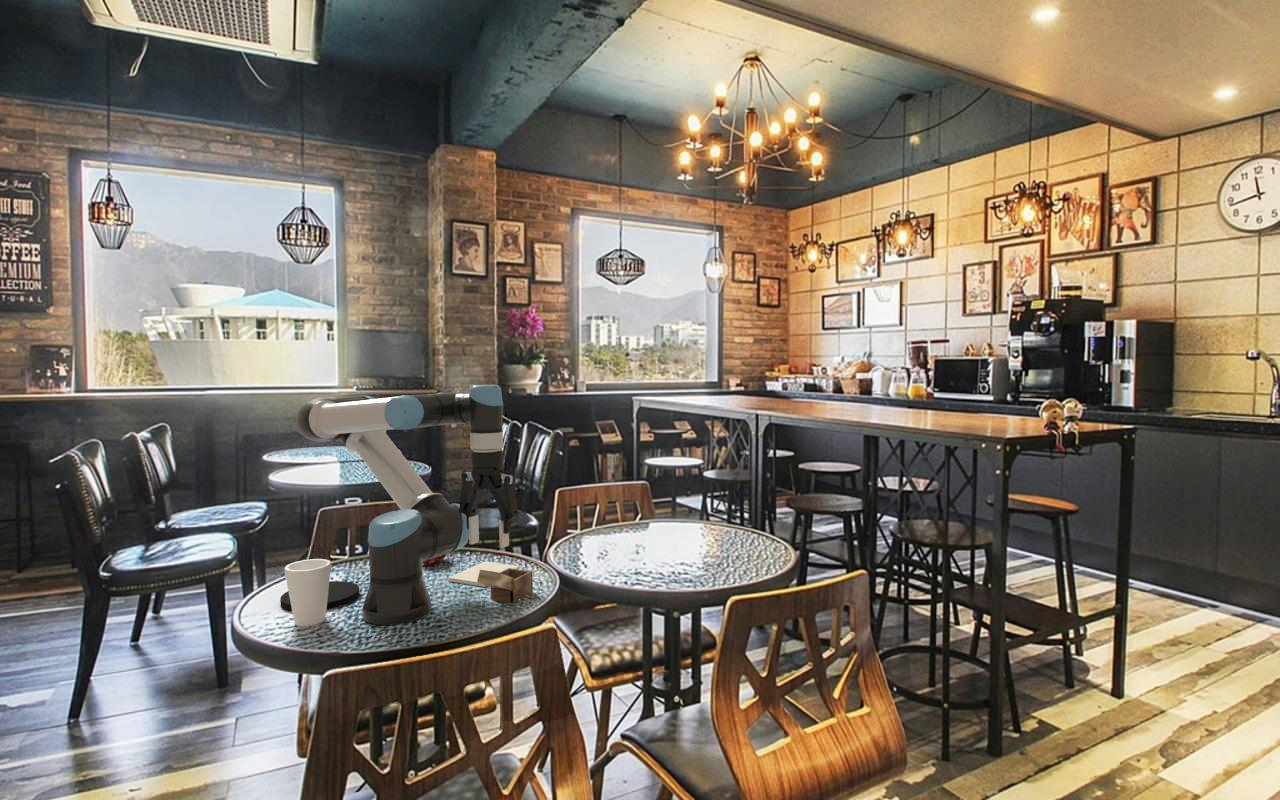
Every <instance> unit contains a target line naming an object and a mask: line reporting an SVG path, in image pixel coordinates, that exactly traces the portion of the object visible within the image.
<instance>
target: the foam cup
mask: <svg viewBox="0 0 1280 800" xmlns="http://www.w3.org/2000/svg"><path fill="white" fill-rule="evenodd" d="M331 573H332V562H331V560H329V559H324V558H312V559H302V560H299V561H294V562H292V563H289V564H287V565H286V566H285V567H284V579H285V580H286V585H287V592H289V597H290V602H291V607H292V612H291V613H292V616H293V617H292V618H293V621H294V625H295V626H298V627H309V626H315V625H318V624H320V623H323V622H325V620H326V616H327V610H326V609H327V599H328V590H329V581H330V580H331V579H330V577H331Z"/></svg>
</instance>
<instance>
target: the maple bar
mask: <svg viewBox="0 0 1280 800" xmlns="http://www.w3.org/2000/svg"><path fill="white" fill-rule="evenodd" d="M514 579H515V578H512V577H510V576H507V575H504V574H501V573H498V572H493V571H486V570H480V572H479V576H478V580H477V583H480V584H484V585H487V586H488V587H489V588H491V587H493V588H499V589H505V590H510V594H513V580H514ZM487 586H486V587H487Z"/></svg>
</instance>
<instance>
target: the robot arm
mask: <svg viewBox="0 0 1280 800" xmlns="http://www.w3.org/2000/svg"><path fill="white" fill-rule="evenodd" d="M468 390H469V391H468V392H454V391H447V392H446V391H443V392H438V393H437V392H436V393H429V394H410V395H409V394H402V395H398V396H391V397H381V398H375V397H373V396H370V395H361V394H356V395H355V394H354V395H351V396H350V395H349V396H334V397H332V396H331V397H318V398H314V399H310V400H308V401H306V402H304V404H302V405H301V407H300V408H299V409H298V411H297V414H296V417H295V425H296V427H297V430H298V432H299V433H300V434H301V436H302V437H304V438H305V439H307V440H310V441H312V442H315V443H316V442H318V443H326V442H339V441H340V442H341V443H342V444H343V445H344V446H345V448H346V449H347V450H348V451H349V452H351V453H358V455H359V456H360V457H361V459H362V460H363V461H364V463H365V464H366V466H367V467H368V468H369V469H370V471H371V472H372V473H373V475H374V476H375V477H376V479H377V480H378V481H379V483H380V484H381V485H382V487H383V488H384V489H385V491H386V493H388V495H389V496H390V497H391V499H392V500H393V502H395V504H396V505H397V507H398V508H399V509H398V510H392V511H389V512H384V513H382V514H380V515H378V516H376V517H375V518H373V519H372V520H371V521H370V523H369V526H368V536H367V543H368V552H369V553H368V555H369V556H368V557H369V559H368V561H369V562H368V563H369V586H368V590H367V593H366V595H365V600H364V602H363V606H362V618H363V621H365V622H366V623H368V624H373V625H381V626H386V625H387V626H389V625H400V624H404V623H409V622H410V623H411V622H413V621H417V620H419V619H422V618H424V617H426V616H427V615H428V614H430V612H431V611H432V599H431V596H430V594H429V591H428V588H427V586H426V583H425V580H424V575H423V561H426V560H429V559H432V558H435V557H438V556H441V555H444V554H447V555H448V554H452V553H454V552H455V551H458V550H461V549H462V548H463V547H465V546H466V544H467V543H468V541H469V545H474V544H476V543H479V542H480V533H479V531H480V530H479V528H480V527H479V523H480V522H479V515H478V512H477V511H478V507H479V504H480V502H481V498H482V495H483V493H484V491H485V490H487V491H490V493H491V495H492V496H493V499H494V501H495V504H496V506H497V509H498V511H499V513H500V517H501V519H499V520H498V527H499V528H498V533H499V534H498V535H499V549H504V548H506V547H509V546H510V533H511V532H512V519H513V518H515V517H518V516H519V509H518V502H517V495H516V492H515V490H516V489H515V485H514V484H515V475H514V474H506V473H504V470H503V467H504V466H503V465H504V451H503V450H502V448H503V447H504V435H503V434H504V429H503V405H504V401H503V393H502V388H501V386H499V385H498V384H473V385H470V386H469V389H468ZM455 424H456V425H457V424H460V425H461V424H462V425H463V424H464V425H469V428H470V429H469V432H470V433H469V434H470V435H469V436H470V439H469V440H470V442H469V443H470V449H471V450H472V451H471V452H470V465H471V467H472V469H471V471H466V472H462V473H461V474H460V476H461V482H462V484H461V493H460V499H459V500H460V501H459V503H455V502H454V503H451V504H450V502H449V501H447V499H446V497H444V495H443V494H442V493H440V492H433V491H432V489H430V488H429V486H428V485H427V484H426V482H425V481H424V480H423V479H422V477H421V476H420V475H419V473H417V471H416V470H415V468H414V467H413V466H412V465H411V463H410V462H409V460H408V459H407V458H406V457H405V456H404V455H403V453H402V452H401V450H399V448H398V447H397V446H396V445H395V444H394V441H392V439H391V438H390V437H389V435H388V434H387V431H390V430H391V431H393V430H400V431H401V430H413V429H418V428H419V429H420V428H426V427H436V426H437V427H438V426H445V425H455ZM473 482H474V483H473Z"/></svg>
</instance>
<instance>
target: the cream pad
mask: <svg viewBox="0 0 1280 800" xmlns="http://www.w3.org/2000/svg"><path fill="white" fill-rule="evenodd" d="M520 567H521V566H519V565H512V564H505V563H500V562H499V563H498V562H491V561H483V562H480V563H477V564H476V565H473V566H471V567H469V568H467V569H466V570H461V571H460V572H458V573H455V574H453V575H451V576H448V577H447V581H448V582H449V583H457V584H464V585H469V586H470V585H471V586H475V587H482V588H486V587H487V585H484V584H480V583H477V580H478V576H479V572H480V570H486V571H493V572H498V573H500V572H502V571H504V570H506V569H508V568H512V569H520ZM520 570H521V569H520Z"/></svg>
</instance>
